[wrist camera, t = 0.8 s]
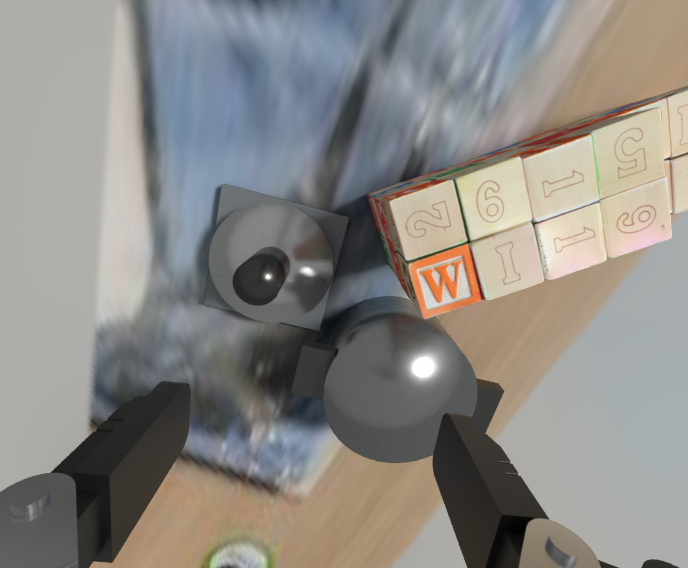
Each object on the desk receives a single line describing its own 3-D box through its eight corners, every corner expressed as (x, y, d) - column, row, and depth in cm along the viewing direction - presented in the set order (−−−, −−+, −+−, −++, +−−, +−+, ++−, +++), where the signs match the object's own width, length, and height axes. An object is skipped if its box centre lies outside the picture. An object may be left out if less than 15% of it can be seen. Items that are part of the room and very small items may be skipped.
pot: (318, 276, 28) (312, 304, 22) (486, 318, 30) (530, 356, 23) (291, 386, 31) (278, 441, 24) (445, 419, 33) (473, 480, 26)
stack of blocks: (633, 99, 25) (897, 21, 13) (639, 181, 27) (879, 177, 15) (364, 194, 27) (386, 199, 15) (386, 266, 28) (422, 323, 16)
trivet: (225, 183, 26) (222, 183, 25) (348, 216, 27) (349, 217, 26) (206, 301, 29) (203, 304, 28) (319, 327, 30) (319, 331, 29)
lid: (224, 187, 25) (189, 187, 19) (346, 219, 26) (349, 228, 20) (206, 302, 28) (170, 333, 22) (317, 328, 29) (312, 365, 23)
